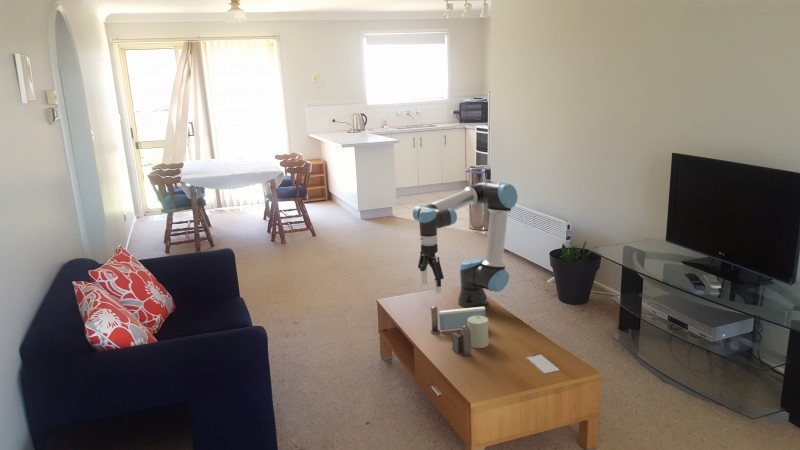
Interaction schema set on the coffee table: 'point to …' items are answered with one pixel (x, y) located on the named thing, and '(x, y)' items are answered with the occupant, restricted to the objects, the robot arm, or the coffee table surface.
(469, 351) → the latch post
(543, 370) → the smartphone
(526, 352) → the coffee table surface
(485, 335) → the can
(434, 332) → the hinge post
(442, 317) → the gate
